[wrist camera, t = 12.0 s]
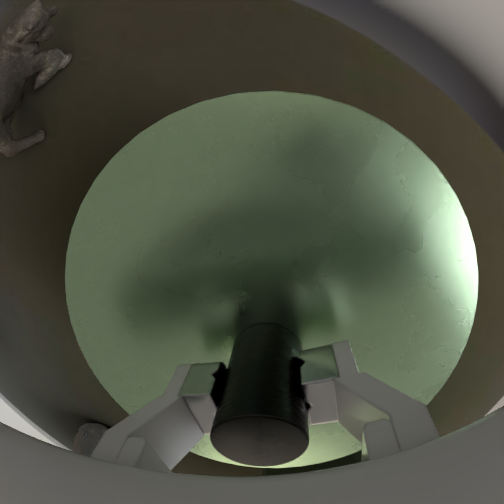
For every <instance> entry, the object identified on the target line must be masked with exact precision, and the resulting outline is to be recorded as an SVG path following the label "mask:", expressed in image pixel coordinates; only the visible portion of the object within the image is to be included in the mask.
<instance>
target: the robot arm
mask: <svg viewBox="0 0 504 504" xmlns="http://www.w3.org/2000/svg"><path fill="white" fill-rule="evenodd" d="M299 358H300V363H301V367H300V374H301V385H302V390H303V395H304V400H305V402H307V411H308V419H309V423H310V425H317V424H324V423H330V422H336V421H338V422H339V423H340V424H341V425H342V426H343V427H344V428H345V429H346V430H347V431H349V432H350V433H351V434H352V435H353V436H354V437H355V438H356V439H357V440H358V441H359V442H361V443H362V457H361V462H359V463H355V464H350V465H346V466H341V467H335V468H330V469H324V470H317V471H310V472H302V473H293V474H283V475H269V476H238V477H233V476H202V475H189V474H178V473H172V471H171V469H172V468H173V467H174V466H175V465H176V464H177V463H178V462H179V461H180V460H181V459H182V458H183V457H184V456H185V455H186V454H187V453H188V452H189V451H190V450H191V449H192V448H193V447H194V446H195V445H196V444H197V443H198V442H199V441H200V440H201V439H202V438H203V437H204V434H210V432H211V428H212V424H213V420H214V417H215V413H216V409H217V405H218V402H219V398H220V394H221V390H222V387H223V383H224V379H225V375H226V371H227V368H226V365H225V363H223V362H211V363H196V364H182V365H179V366H177V368H176V370H175V372H174V374H173V376H172V378H171V380H170V382H169V384H168V386H167V388H166V390H165V392H164V394H163V396H158V397H157V398H155V399H154V400H152V401H151V402H149V403H148V404H146V405H145V406H143V407H142V408H140V409H139V410H137V411H136V412H134V413H133V414H131V415H130V416H128V417H127V418H125V419H124V420H122V421H121V422H119V423H118V424H116V425H114V426H113V427H111V428H110V429H108V430H107V431H105V433H104V434H103V436H102V438H101V439H100V441H99V443H98V444H97V446H96V448H95V449H94V451H93V453H92V455H91V456H90V457H89V456H85V455H82V454H79V453H75V452H72V451H69V450H66V449H63V448H60V447H57V446H54V445H52V444H49V443H47V442H44V441H41V440H39V439H36V438H34V437H31V436H29V435H27V434H25V433H22V432H20V431H18V430H16V429H13V428H11V427H9V426H7V425H5V424H3V423H1V422H0V504H504V406H503V407H501V408H499V409H497V410H496V411H494V412H492V413H490V414H489V415H487V416H485V417H483V418H481V419H479V420H477V421H475V422H473V423H471V424H469V425H467V426H465V427H462V428H460V429H458V430H456V431H454V432H451V433H449V434H447V435H444V436H442V437H440V436H439V434H438V432H437V429H436V427H435V425H434V423H433V420H432V418H431V416H430V414H429V412H428V410H427V408H426V405H425V404H423V403H422V402H420V401H418V400H416V399H414V398H412V397H410V396H408V395H406V394H404V393H402V392H401V391H399V390H397V389H395V388H393V387H391V386H389V385H387V384H386V383H384V382H382V381H380V380H378V379H376V378H375V377H373V376H371V375H369V374H367V373H366V372H361V373H359V370H358V367H357V364H356V361H355V358H354V355H353V352H352V349H351V346H350V343H349V341H348V340H344V341H340V342H336V343H332V344H330V345H325V346H320V347H316V348H311V349H306V350H300V351H299Z"/></svg>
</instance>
